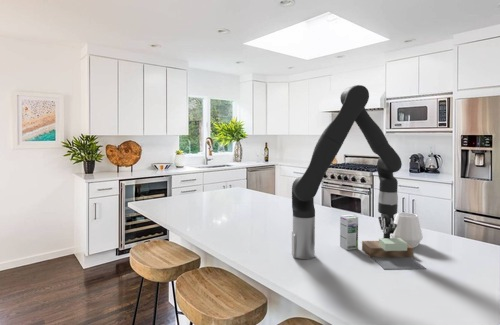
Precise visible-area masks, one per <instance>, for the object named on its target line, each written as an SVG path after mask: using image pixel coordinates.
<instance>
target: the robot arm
mask: <svg viewBox="0 0 500 325" xmlns="http://www.w3.org/2000/svg"><path fill="white" fill-rule="evenodd" d="M369 99H370V93H369V90H368V88H367V87H366V86H364V85H360V84H358V85H353V86H349V87H346V88H345V89H343V91H342V92H341V94H340V103H341V105H342V106H341V108H340V110H339V112H338V113H337V115H336V116H335V117H334V118H333V120H332V121H331V122H330V123H329V124H328V125H327V126H326V127H325V129H324V130H323V131H322V133H321V135H320V137H319V139H318V140H317V142H316V144H315V146H314V148H313V152H312V155H311V159H310V161H309V165H308V166H307V168H306V170H305V172H304V174H303V175H302V176H299V177H297V178H296V179H295V180H294V181H293V182H292V185H291V207H292V209H291V210H292V231H291V254H292V258H294V259H300V260H310V259H311V260H312V259H313V258H315V256H316V255H315V254H316V253H315V251H316V250H315V248H316V247H315V246H316V240H315V238H316V233H315V232H316V231H315V230H316V209H315V203H314V202H315V201H314V199H315V196H316V195H317V193H318V190H319V188H320V186H321V184H322V181H323V178H324V176H325V175H326V173H327V171H328V170H329V168H330V167H331V165H332V163H334V162H333V161H335V160H334V159H335V158H336V157H337V155H338V153H339V151H340V149H341V148H342V146H343V144H344V142H345V140H346V138H347V136H348V135H349V132H350V130H351V129H352V126H353V125H354V123H356V125H357V126H358V128H359V129H360V131H361V133H362V134H363V136H364V138H365V140H366V141H367V144H368V146H369V148H370V149H371V151H372V152H373V153H374V154H375V155H377V156H378V158H377V162H376V171H377V175H378V179H379V186H378V187H379V189H378V190H379V192H378V196H377V197H378V198H377V199H378V200H377V202H378V203H377V204H378V205H377V210H378V211H377V212H378V213H379V214H380V216H378V222H379V225H380V230H381V231H382V233H383V238H391V233H392V234H393V233H394V231H395V229H396V227H397V224H394V220H395V216H396V214H397V213H398V207H399V205H398V203H399V196H398V185H399V184H398V179H397V178H396V177H395V176H394V173H398V171H400V170H401V169H402V159H401V157H400V155H399V154H398V153H397V151H396V150H395V148H393V147H392V146H391V145H390V143H389V141H388V139H387V137H386V135H385V133H384V132H383V130H382V128H380V126H379V125H378V124H377V123H376V122H375V120H374V119H373V118H372V117H371V116H370V114H369V113H368V111H367V109H366V105H368V102H369Z"/></svg>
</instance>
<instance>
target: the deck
mask: <svg viewBox="0 0 500 325" xmlns="http://www.w3.org/2000/svg"><path fill="white" fill-rule="evenodd" d="M414 248H415V247H411V246H410V245H409V244H407V251H385V250H384V249H382V248H381V247H380V246H379V240H362V242H361V250H362V251H363V253H365V254H366V256H368V257H369V258H371V259H373V257H412V258H414Z"/></svg>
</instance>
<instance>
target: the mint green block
mask: <svg viewBox="0 0 500 325" xmlns="http://www.w3.org/2000/svg"><path fill="white" fill-rule="evenodd" d="M378 241H379V246H380V247H381V248H382V249H384V250H385V251H407V244H408V243H406V242H405V241H403V240H402V239H401V238H392V237H390V238H378Z"/></svg>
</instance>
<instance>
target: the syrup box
mask: <svg viewBox="0 0 500 325" xmlns="http://www.w3.org/2000/svg"><path fill="white" fill-rule="evenodd" d="M339 246H340V247H341V248H342V249H343V250H346V251H349V250H358V248H359V217H358V216H356V215H354V214H343V215H340V216H339Z"/></svg>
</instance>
